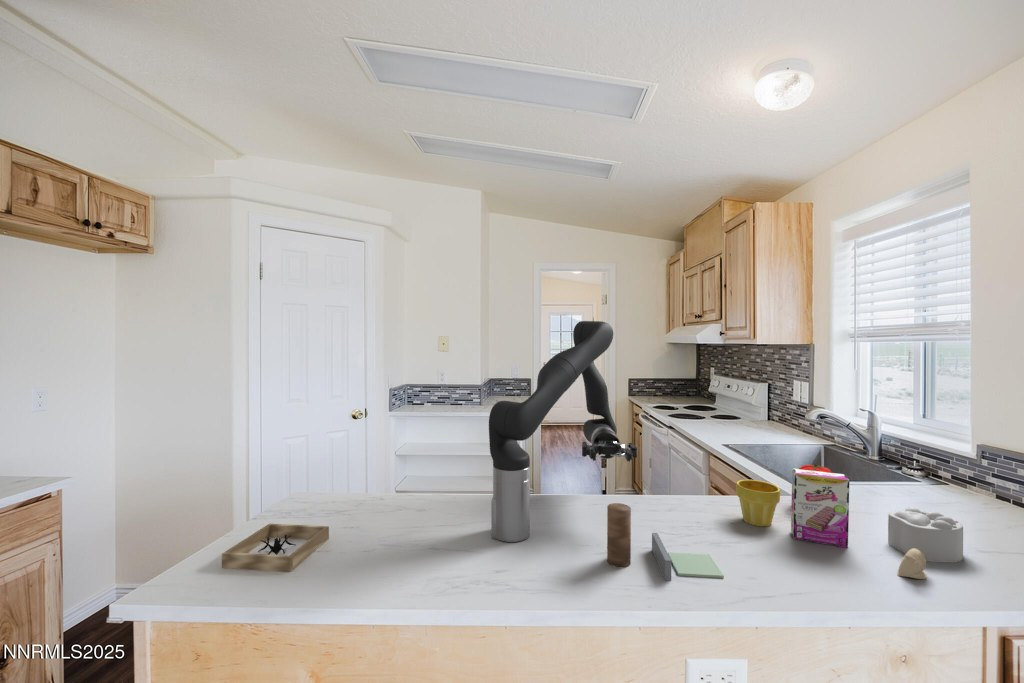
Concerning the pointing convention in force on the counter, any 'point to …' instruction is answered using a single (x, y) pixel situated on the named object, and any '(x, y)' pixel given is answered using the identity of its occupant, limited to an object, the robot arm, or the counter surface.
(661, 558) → the low wall
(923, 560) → the decorative ornament
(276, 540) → the creature
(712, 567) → the pad
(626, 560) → the walnut canister
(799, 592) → the counter surface
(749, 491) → the plant pot
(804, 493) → the candy bar box
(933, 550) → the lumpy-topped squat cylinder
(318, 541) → the wooden frame
